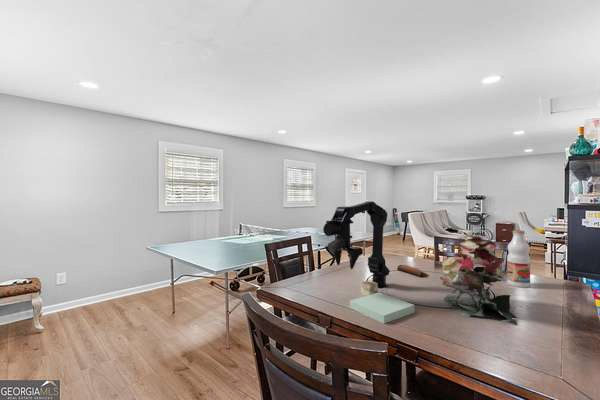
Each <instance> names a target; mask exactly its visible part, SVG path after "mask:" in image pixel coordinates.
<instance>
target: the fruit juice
mask: <svg viewBox="0 0 600 400" xmlns="http://www.w3.org/2000/svg"><path fill="white" fill-rule="evenodd" d="M525 233H526V232H525V230H520V229H519V230H516V229H515V230H512V239H511V241H510V242H509V243H508V244H507V251H508V254H507V259H506V264H507V265H506V267H507V268H506V274H507V275H506V279H507V280H506V283H507V284H508V285H510V286H512V287H515V288H516V287H517V288H524V289H527V288H530V287H531V258H530V252H531V251H530V250H531V248H530V245H529V244H528V243H527V241H526V239H525ZM507 271H511V272H513V273H508V272H507Z"/></svg>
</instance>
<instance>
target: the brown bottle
mask: <svg viewBox="0 0 600 400" xmlns="http://www.w3.org/2000/svg"><path fill="white" fill-rule="evenodd" d="M396 269H397V271H401V272H406V273H408V274H412V275H415V276H418V277H420V278H425V277H429V276H430V275H429V274H428V273H426V272H424V271H422V270H420V269H419V268H418V267H417V268H416V267H413V266H410V265H406V264H398V266H397V268H396Z"/></svg>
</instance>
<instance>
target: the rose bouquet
mask: <svg viewBox="0 0 600 400" xmlns="http://www.w3.org/2000/svg"><path fill="white" fill-rule="evenodd" d="M464 240H465V241H462V242H460V243H459V245H460V246H461V247H462V249H463V250H461V255H462V256H452V257H451V256H450V257H448V258H447V259H446V260H444V261H442V264H441V265H442V266H441V268H442V269H443V270H442V271H441V272H442V273H444V274H443V275H442V276H440V277H439V279H440V280H441V281H442V283H441V285H442V286H446V287H449V288H452V289H454V290H453V291H452V292H451V294H450V293H448V294H447V295H445V297H443V298H442V301H443V302H444V303H446V304H447V305H449V306H451V308H452V309H451V311H453V312H455V311H459V312H460V314H461V315H463V316H465V317H467V318H468V317H469V318H470V317H472V316H476V317H481V318H486V319H492V316H489V315H487V314H485V313H484V310H485V307H486V308H488V309H490V310H491V311H494V312H496V313H499V314H500V315H501V316H503V317H505V318H506V319H502V320H500V321H501V322H504V323H508V324H513V325H515V326H517V325H518V324H517V322H516V321H517V320H516V319H512V318H517V316H516V315H514V314H513V313H512V312H510V310H511V304H510V301H511V298H510V297H512V295H511V294H501V295H496V296H494V298H492V297H490V295H491V293H490V288H491V286H492V287H493V286H494V284H492V283H497V282H502V281H506V278H504V277H503V276H502V275H501V273H502V269H503V267H502V266H501V265H502V264H503V263H504V262H505V260H506V259H505V258H504V257H498V256H497V253H496V252H495V250H496V249H497V248H498V245H497V244H496V242H493V241H491V240H489V239H487V238H485V236H481V235H471V236H470V235H469V236H468V235H467V237H465V238H464ZM507 272H508V273H513V272H511V271H507V270H506V273H507ZM484 284H487V285H489V286H488V287H487V288H485V285H484ZM456 291H459V293H458V295H455V294H456ZM463 294H467V295H469V296H470V297H464V296H463ZM476 307H477V308H476ZM516 324H517V325H516Z"/></svg>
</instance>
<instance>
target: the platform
mask: <svg viewBox="0 0 600 400" xmlns="http://www.w3.org/2000/svg"><path fill="white" fill-rule="evenodd" d="M349 309H351V310H353V311H356V312H358V313H361V314H362V315H364V316H366V317H368V316H369V318H371V319H373V320H375V321H377V322H379V323H381V324H386V323H390V322H393V321H395V320H397V319H400V318H403V317H405V316H408V315H411V314H414V313H415V305H414V304H413V303H409V302H407V301H404V300H402V299H399V298H396V297H393V296H390V295H388V294H385V293H382V292H378V293H375V294H372V295H368V296H365V295H363V296H361V297H357V298H354V299H351V300H349Z"/></svg>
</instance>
